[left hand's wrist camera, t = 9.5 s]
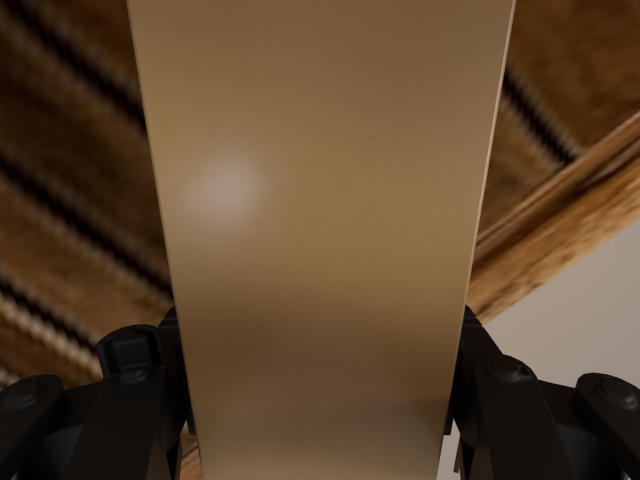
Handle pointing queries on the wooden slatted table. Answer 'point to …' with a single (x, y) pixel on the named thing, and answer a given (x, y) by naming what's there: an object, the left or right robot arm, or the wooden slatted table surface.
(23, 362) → the wooden slatted table surface
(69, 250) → the wooden slatted table surface
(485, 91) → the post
